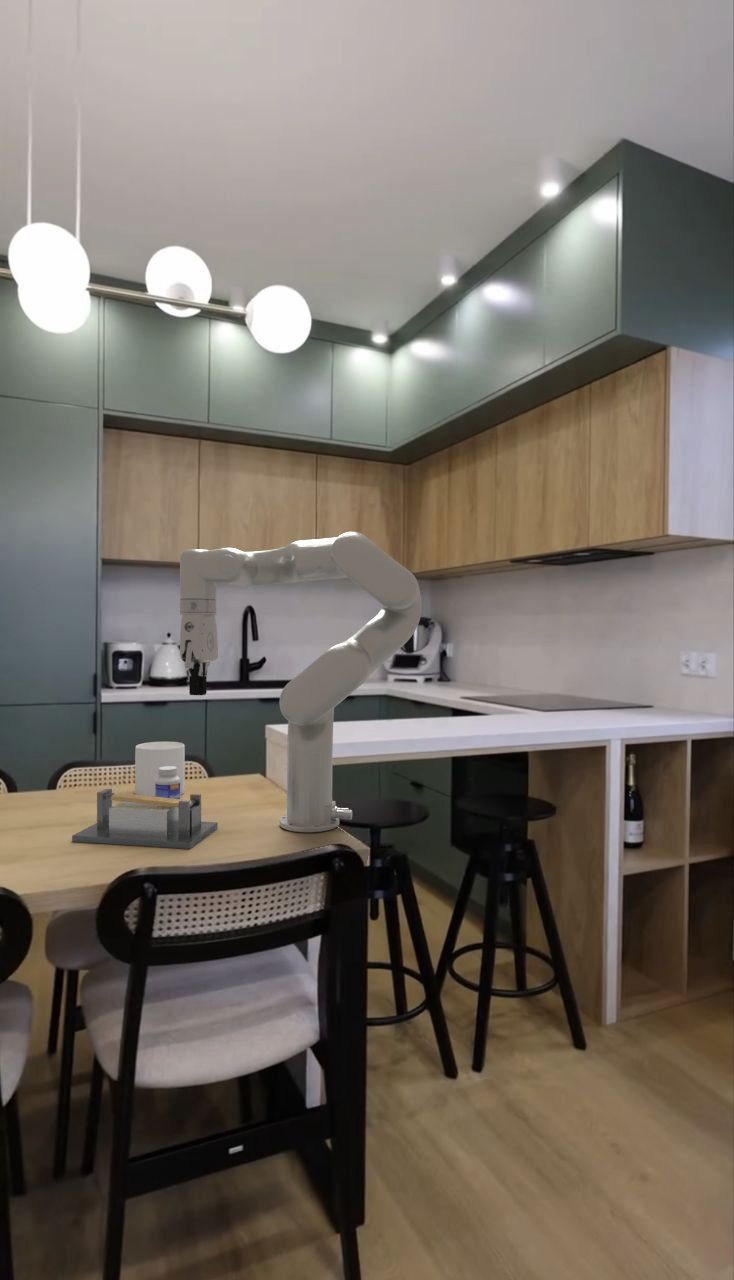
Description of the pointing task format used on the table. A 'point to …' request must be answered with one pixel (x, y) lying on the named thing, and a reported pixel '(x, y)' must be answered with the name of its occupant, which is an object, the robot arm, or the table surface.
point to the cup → (157, 764)
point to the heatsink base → (144, 839)
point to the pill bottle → (167, 783)
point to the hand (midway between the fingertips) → (197, 694)
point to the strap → (149, 799)
